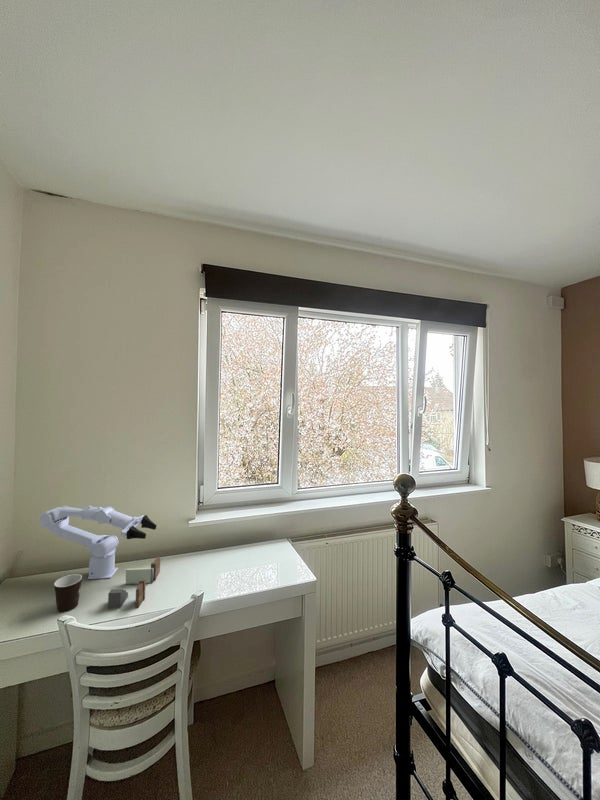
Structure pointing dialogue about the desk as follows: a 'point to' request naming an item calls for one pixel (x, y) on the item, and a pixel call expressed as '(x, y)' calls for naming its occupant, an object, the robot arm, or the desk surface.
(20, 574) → the desk surface
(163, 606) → the desk surface
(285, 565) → the desk surface
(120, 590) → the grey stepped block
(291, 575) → the desk surface
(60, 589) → the coffee mug
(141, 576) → the door
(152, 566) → the door frame
